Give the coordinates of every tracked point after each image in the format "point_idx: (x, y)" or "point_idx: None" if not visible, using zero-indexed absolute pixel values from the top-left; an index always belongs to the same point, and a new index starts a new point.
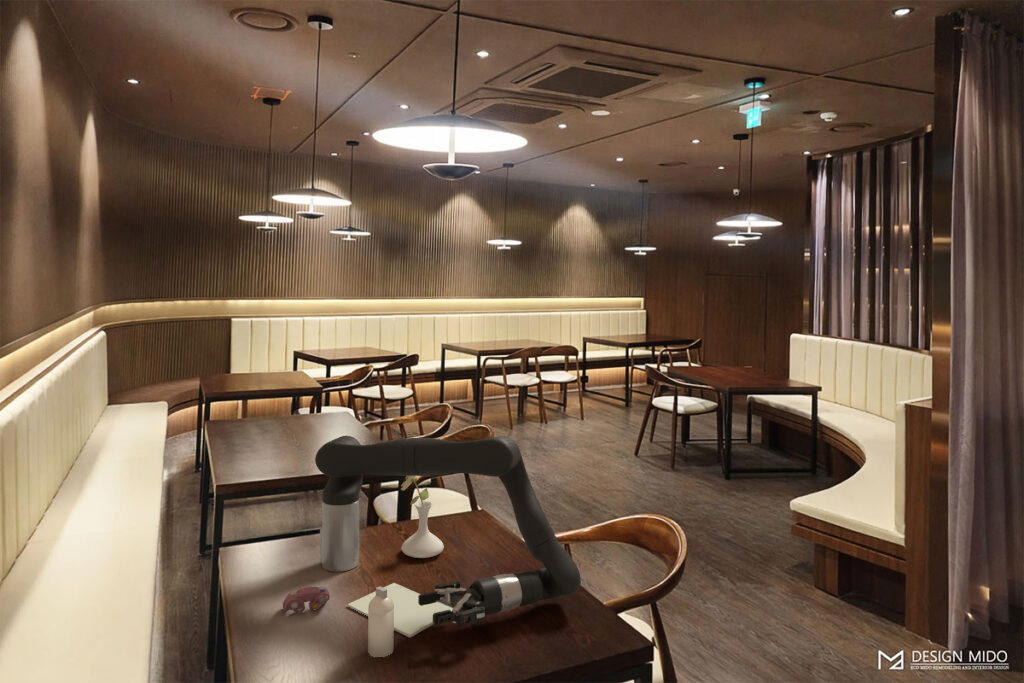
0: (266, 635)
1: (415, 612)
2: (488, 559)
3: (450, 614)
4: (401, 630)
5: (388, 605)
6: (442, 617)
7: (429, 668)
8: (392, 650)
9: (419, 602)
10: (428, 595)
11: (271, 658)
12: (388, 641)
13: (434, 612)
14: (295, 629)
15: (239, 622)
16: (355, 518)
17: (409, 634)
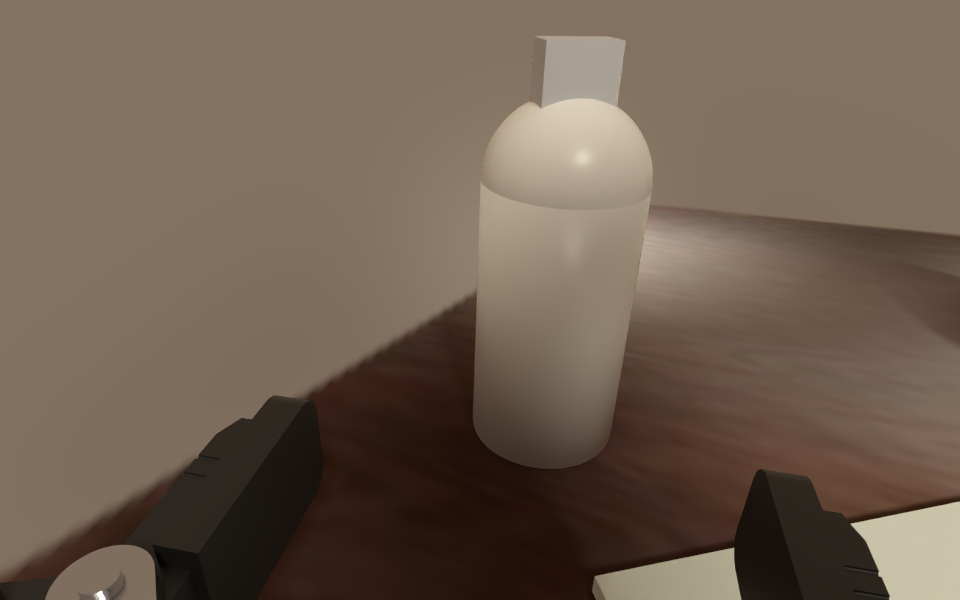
0: (830, 252)
1: None
2: None
3: (141, 537)
4: (687, 562)
5: (495, 142)
6: (202, 457)
7: None
8: (488, 438)
9: (741, 517)
10: (783, 568)
11: (675, 235)
12: (475, 355)
13: None
14: (861, 296)
15: (938, 238)
16: None
17: (603, 578)
